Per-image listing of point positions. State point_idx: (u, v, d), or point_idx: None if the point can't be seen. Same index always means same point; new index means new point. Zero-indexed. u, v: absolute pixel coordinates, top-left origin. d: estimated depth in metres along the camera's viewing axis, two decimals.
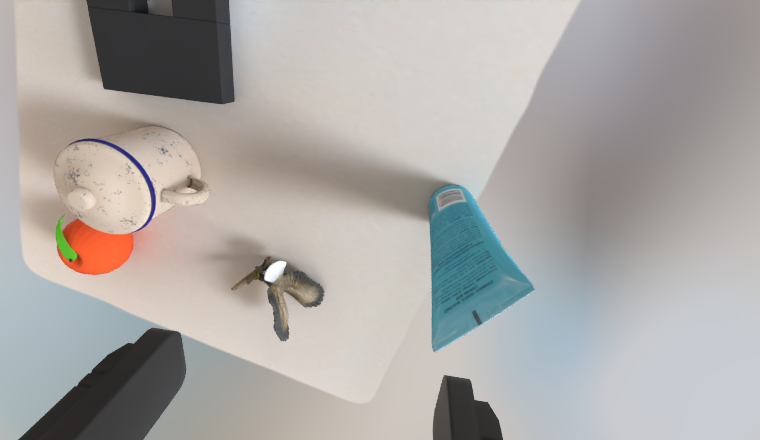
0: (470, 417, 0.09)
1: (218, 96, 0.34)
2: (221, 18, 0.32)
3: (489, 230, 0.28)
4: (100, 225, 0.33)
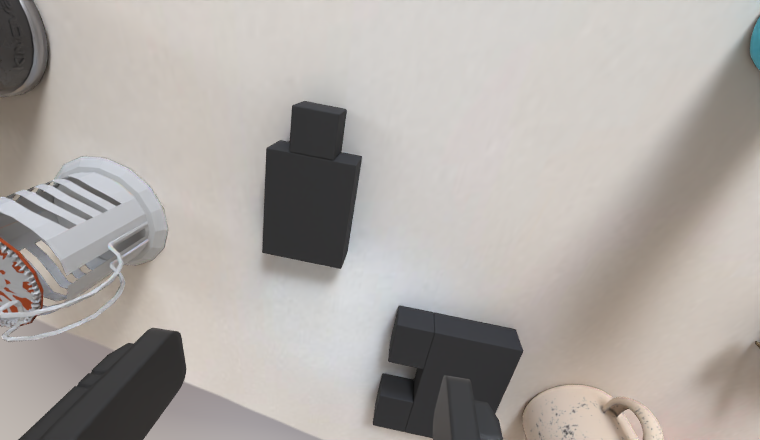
0: (470, 417, 0.09)
1: (513, 352, 0.28)
2: (429, 324, 0.29)
3: None
4: None
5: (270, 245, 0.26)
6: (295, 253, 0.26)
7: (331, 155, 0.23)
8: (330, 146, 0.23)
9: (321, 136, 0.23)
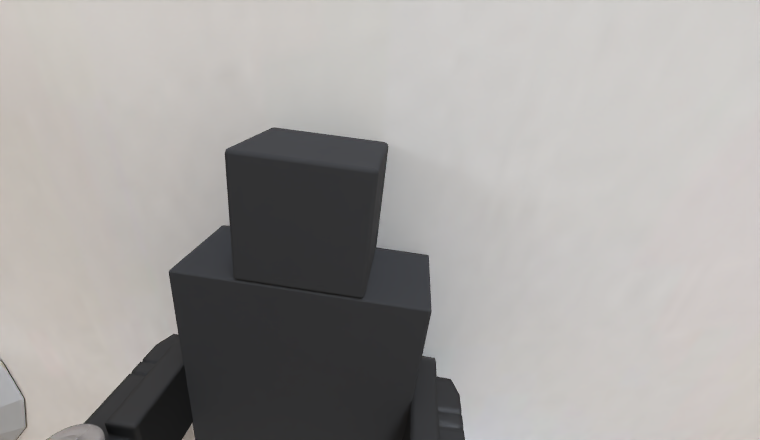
0: (430, 391, 0.09)
1: None
2: None
3: None
4: None
5: None
6: None
7: (356, 286, 0.08)
8: (352, 264, 0.08)
9: (324, 237, 0.07)
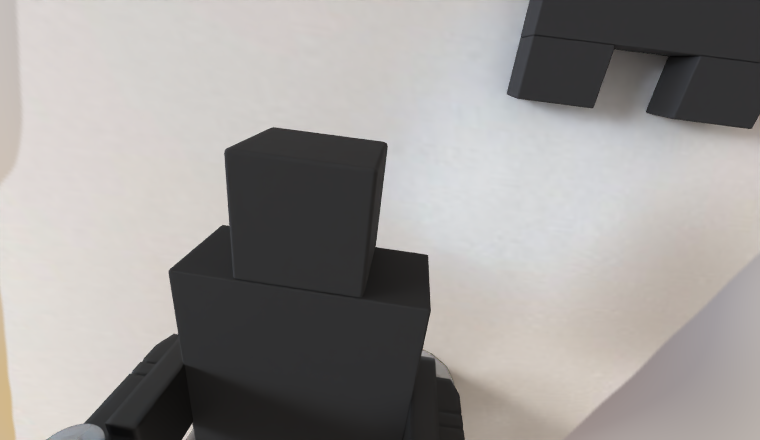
0: (430, 391, 0.09)
1: None
2: (526, 43, 0.19)
3: None
4: None
5: None
6: None
7: (356, 285, 0.08)
8: (351, 263, 0.08)
9: (324, 237, 0.07)
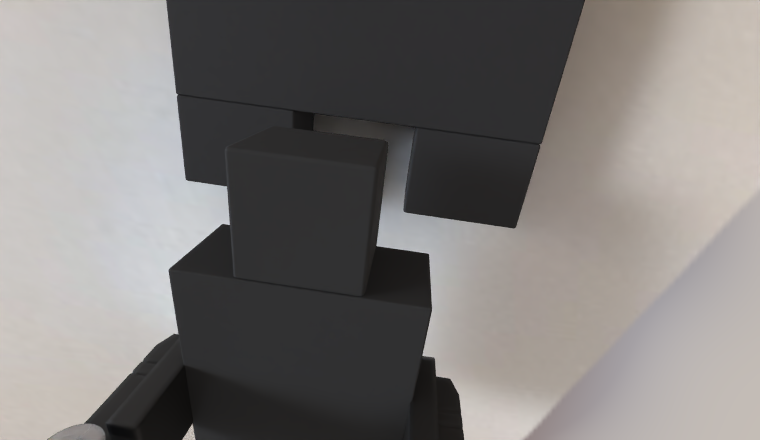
0: (430, 390, 0.09)
1: None
2: None
3: None
4: None
5: None
6: None
7: (357, 284, 0.08)
8: (352, 262, 0.08)
9: (325, 236, 0.07)
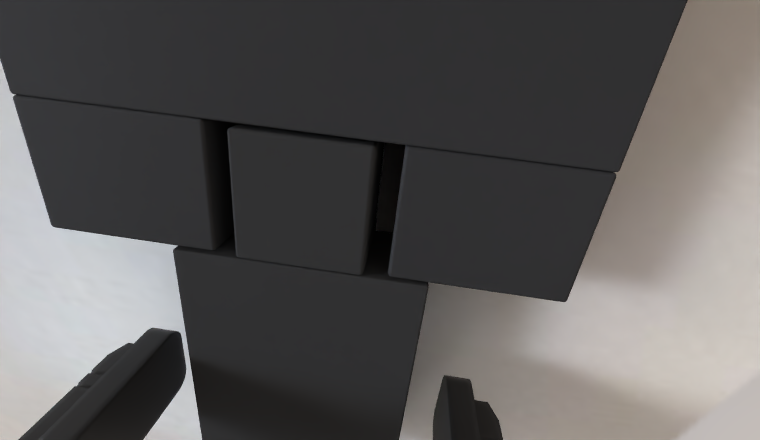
0: (470, 417, 0.09)
1: None
2: None
3: None
4: None
5: None
6: None
7: (355, 263, 0.08)
8: (350, 241, 0.08)
9: (325, 214, 0.08)
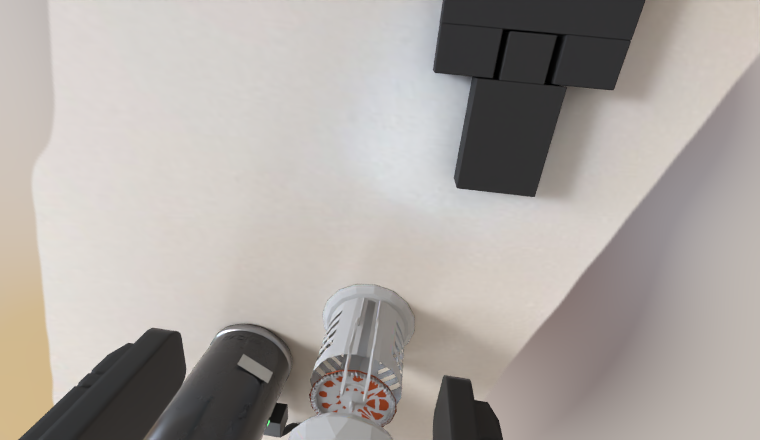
0: (470, 417, 0.09)
1: None
2: (439, 29, 0.24)
3: None
4: None
5: (466, 179, 0.28)
6: (490, 185, 0.28)
7: (542, 79, 0.24)
8: (543, 70, 0.24)
9: (536, 60, 0.24)
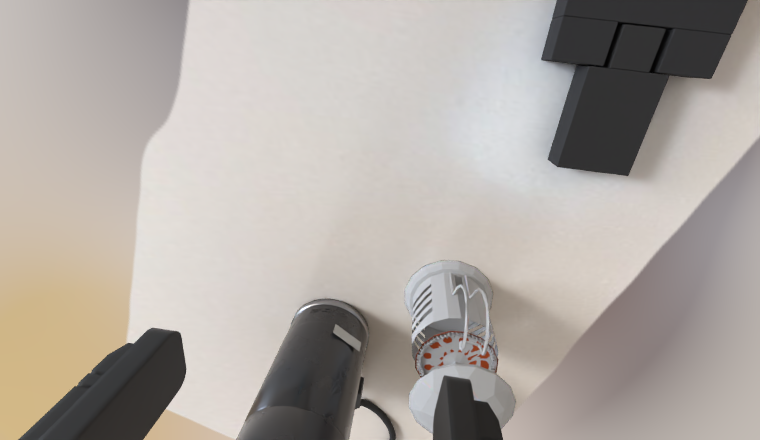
0: (470, 417, 0.09)
1: None
2: (557, 22, 0.27)
3: None
4: None
5: (567, 158, 0.30)
6: (588, 164, 0.31)
7: (648, 67, 0.27)
8: (650, 59, 0.27)
9: (644, 50, 0.27)
